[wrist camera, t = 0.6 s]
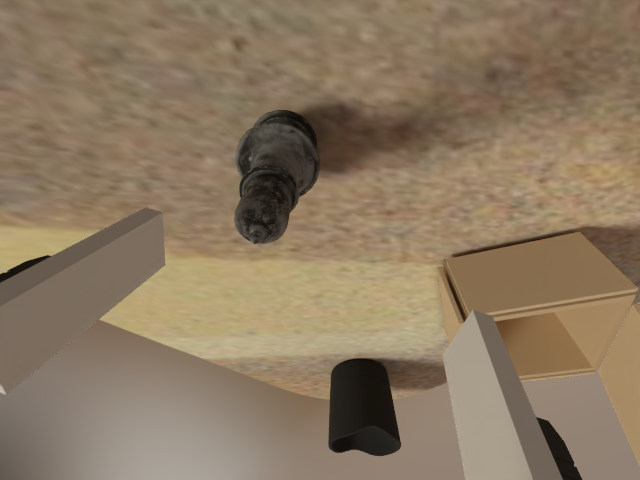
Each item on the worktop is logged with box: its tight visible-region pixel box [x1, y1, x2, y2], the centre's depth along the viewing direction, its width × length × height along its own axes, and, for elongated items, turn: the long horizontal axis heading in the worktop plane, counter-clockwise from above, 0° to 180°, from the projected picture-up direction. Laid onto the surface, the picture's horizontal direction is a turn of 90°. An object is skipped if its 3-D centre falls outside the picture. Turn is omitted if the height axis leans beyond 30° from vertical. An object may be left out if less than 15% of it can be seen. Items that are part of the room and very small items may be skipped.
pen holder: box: [329, 359, 401, 456], centre depth 43 cm, size 9×9×10 cm
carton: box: [437, 232, 638, 382], centre depth 30 cm, size 14×13×8 cm
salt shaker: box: [234, 110, 320, 244], centre depth 19 cm, size 6×6×12 cm
